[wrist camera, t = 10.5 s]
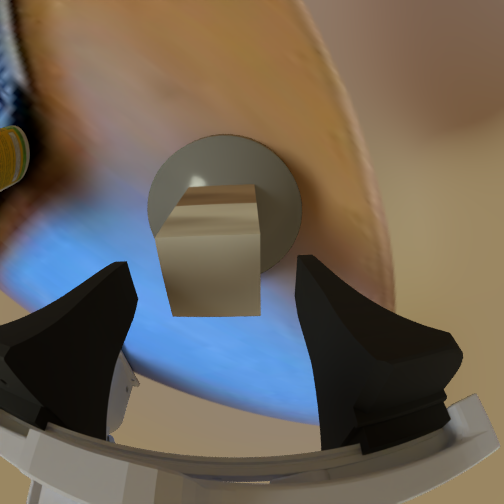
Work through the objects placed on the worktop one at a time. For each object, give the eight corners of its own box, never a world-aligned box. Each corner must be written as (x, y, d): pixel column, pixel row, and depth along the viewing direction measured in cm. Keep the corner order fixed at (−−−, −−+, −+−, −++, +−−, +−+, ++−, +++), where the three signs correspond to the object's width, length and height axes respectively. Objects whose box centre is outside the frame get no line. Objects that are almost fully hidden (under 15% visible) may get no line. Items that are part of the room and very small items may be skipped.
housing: (255, 243, 18) (260, 315, 12) (195, 245, 18) (172, 316, 12) (254, 184, 16) (259, 233, 10) (188, 187, 16) (154, 237, 10)
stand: (293, 264, 21) (297, 278, 19) (168, 268, 21) (162, 282, 19) (297, 132, 16) (304, 135, 15) (148, 142, 16) (137, 146, 15)
